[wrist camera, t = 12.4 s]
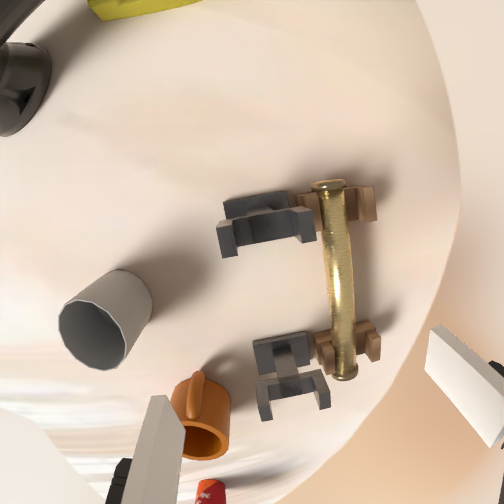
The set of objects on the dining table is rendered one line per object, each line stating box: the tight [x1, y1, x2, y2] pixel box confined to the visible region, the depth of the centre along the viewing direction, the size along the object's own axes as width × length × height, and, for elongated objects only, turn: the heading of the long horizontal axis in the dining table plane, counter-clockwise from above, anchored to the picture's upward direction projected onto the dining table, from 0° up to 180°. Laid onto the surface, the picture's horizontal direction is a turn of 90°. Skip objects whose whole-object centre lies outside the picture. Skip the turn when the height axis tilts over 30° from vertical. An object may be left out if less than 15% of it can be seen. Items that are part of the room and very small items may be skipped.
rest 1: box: [294, 186, 377, 232], centre depth 30 cm, size 4×8×5 cm, turn 100°
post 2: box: [253, 331, 331, 422], centre depth 31 cm, size 5×7×11 cm
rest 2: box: [313, 320, 381, 375], centre depth 34 cm, size 4×8×5 cm, turn 101°
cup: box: [58, 270, 153, 371], centre depth 29 cm, size 8×8×10 cm
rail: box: [311, 179, 358, 381], centre depth 31 cm, size 24×4×4 cm
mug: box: [170, 371, 231, 461], centre depth 34 cm, size 9×12×9 cm
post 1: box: [216, 191, 317, 259], centre depth 27 cm, size 5×7×11 cm
